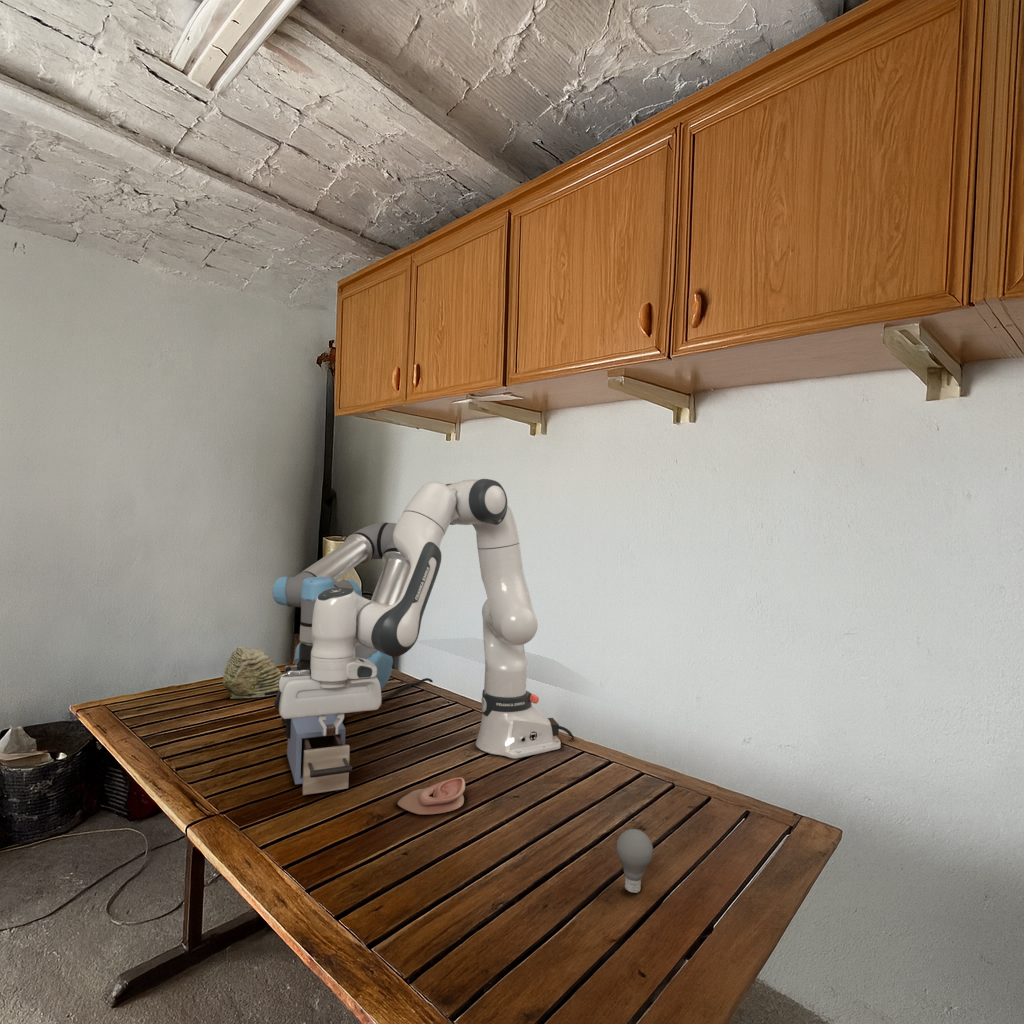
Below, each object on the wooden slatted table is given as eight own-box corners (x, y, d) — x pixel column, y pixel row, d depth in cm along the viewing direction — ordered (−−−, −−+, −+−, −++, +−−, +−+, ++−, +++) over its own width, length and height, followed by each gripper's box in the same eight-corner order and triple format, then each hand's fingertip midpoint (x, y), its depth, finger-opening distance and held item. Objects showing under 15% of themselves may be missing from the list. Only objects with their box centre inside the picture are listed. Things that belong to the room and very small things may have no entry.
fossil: (218, 695, 195) (220, 647, 195) (278, 685, 208) (279, 640, 207) (228, 703, 189) (230, 653, 188) (289, 692, 201) (290, 645, 201)
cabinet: (344, 777, 143) (345, 728, 143) (295, 784, 138) (297, 734, 138) (331, 750, 158) (332, 706, 158) (287, 755, 154) (288, 710, 154)
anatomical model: (392, 791, 129) (412, 768, 140) (391, 810, 129) (411, 786, 140) (454, 800, 126) (470, 776, 137) (454, 820, 126) (469, 794, 137)
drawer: (353, 800, 130) (355, 756, 130) (306, 808, 126) (308, 763, 126) (335, 760, 149) (336, 722, 149) (294, 766, 145) (295, 727, 145)
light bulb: (610, 879, 108) (613, 822, 108) (644, 879, 109) (647, 822, 109) (619, 902, 102) (622, 840, 102) (655, 901, 103) (658, 840, 103)
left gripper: (265, 648, 144) (262, 745, 144) (367, 642, 153) (363, 733, 154) (263, 641, 150) (260, 733, 151) (361, 636, 160) (357, 723, 161)
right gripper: (280, 675, 123) (277, 746, 123) (384, 668, 131) (382, 734, 132) (277, 667, 128) (275, 735, 129) (377, 660, 137) (375, 724, 137)
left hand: (312, 733), depth 152 cm, fingers closed on cabinet, 10 cm apart
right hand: (330, 734), depth 130 cm, fingers closed
